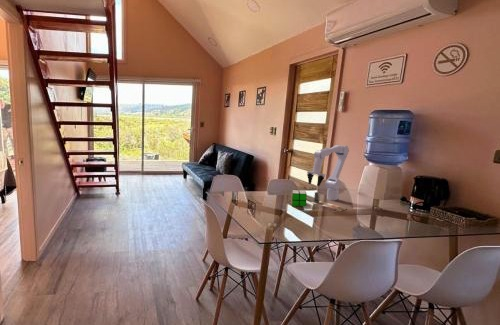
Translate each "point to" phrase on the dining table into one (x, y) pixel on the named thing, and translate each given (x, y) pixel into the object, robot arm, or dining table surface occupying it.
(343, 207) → the board
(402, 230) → the dining table surface
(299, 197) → the puzzle cube
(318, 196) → the pawn
